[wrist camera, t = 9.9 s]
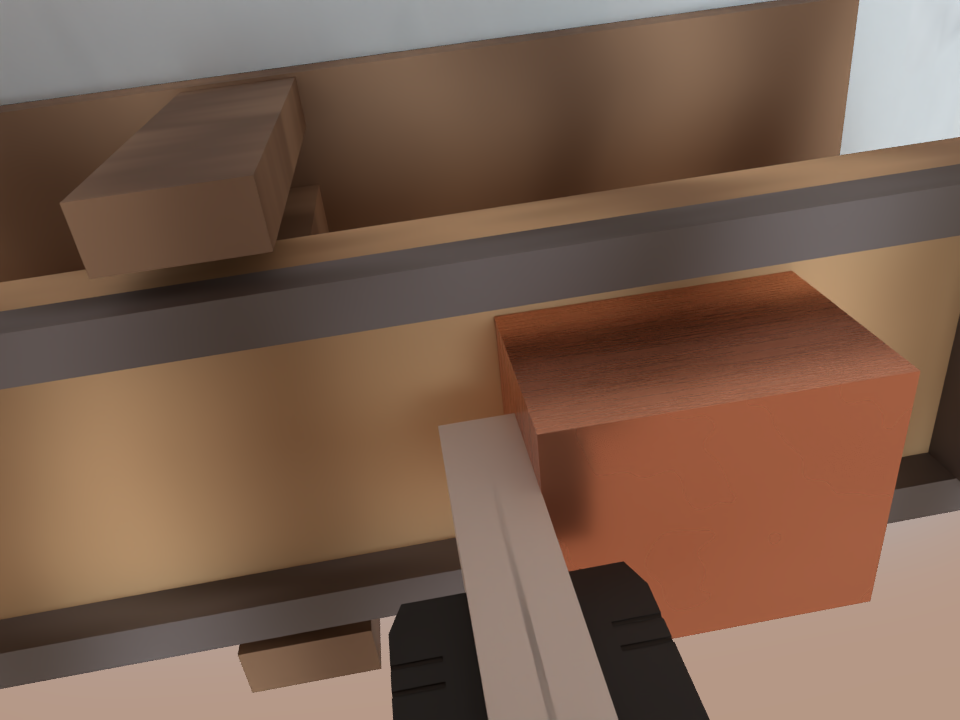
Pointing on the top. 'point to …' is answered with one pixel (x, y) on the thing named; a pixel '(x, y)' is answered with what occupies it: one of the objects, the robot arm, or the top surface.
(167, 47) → the top surface
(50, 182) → the stand
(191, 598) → the beam
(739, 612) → the terracotta wooden block
